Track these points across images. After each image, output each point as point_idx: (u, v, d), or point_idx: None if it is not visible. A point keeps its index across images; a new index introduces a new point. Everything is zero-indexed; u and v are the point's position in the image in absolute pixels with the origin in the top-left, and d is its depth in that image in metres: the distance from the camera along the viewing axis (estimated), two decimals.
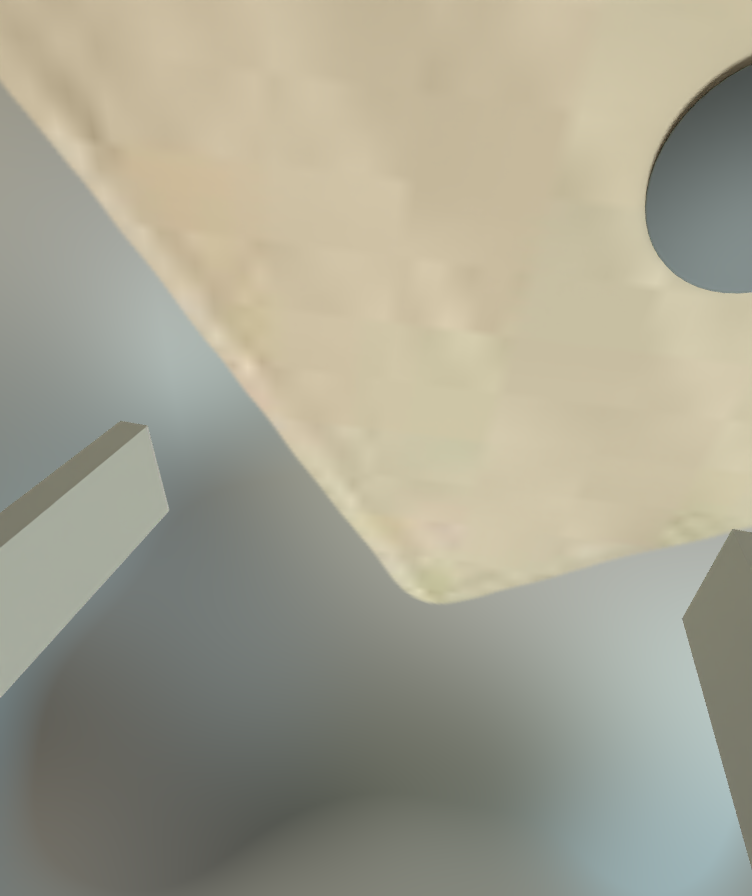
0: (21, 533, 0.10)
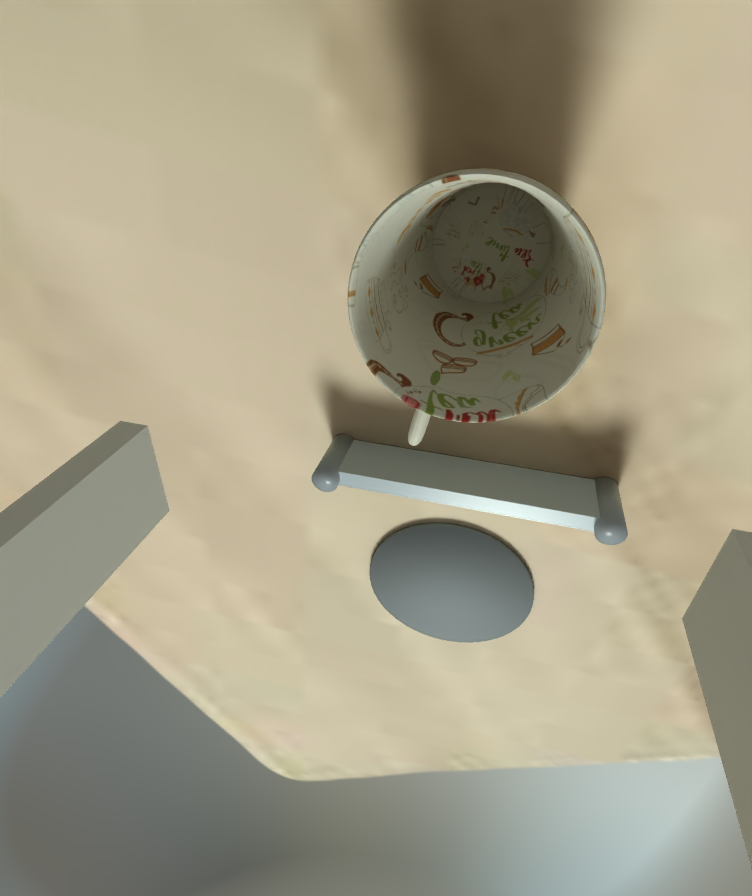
0: (21, 533, 0.10)
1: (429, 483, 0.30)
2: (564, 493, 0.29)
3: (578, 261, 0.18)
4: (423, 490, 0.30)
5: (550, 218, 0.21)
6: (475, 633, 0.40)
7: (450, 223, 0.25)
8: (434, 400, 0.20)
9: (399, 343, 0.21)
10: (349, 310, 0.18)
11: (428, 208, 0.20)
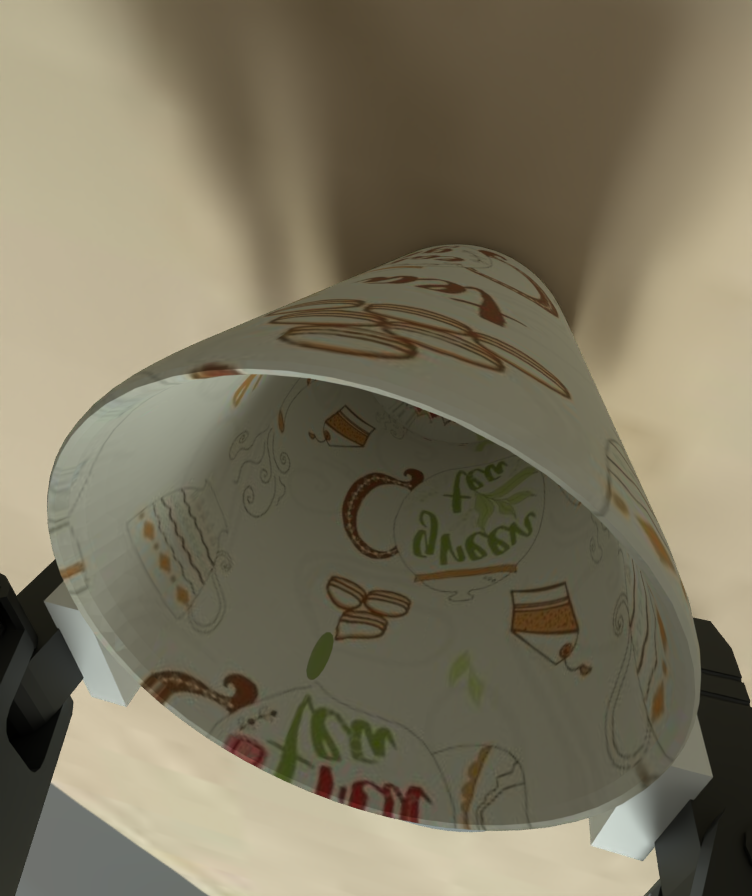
0: None
1: None
2: None
3: None
4: None
5: None
6: None
7: None
8: (302, 734, 0.10)
9: (248, 590, 0.11)
10: (74, 600, 0.08)
11: None
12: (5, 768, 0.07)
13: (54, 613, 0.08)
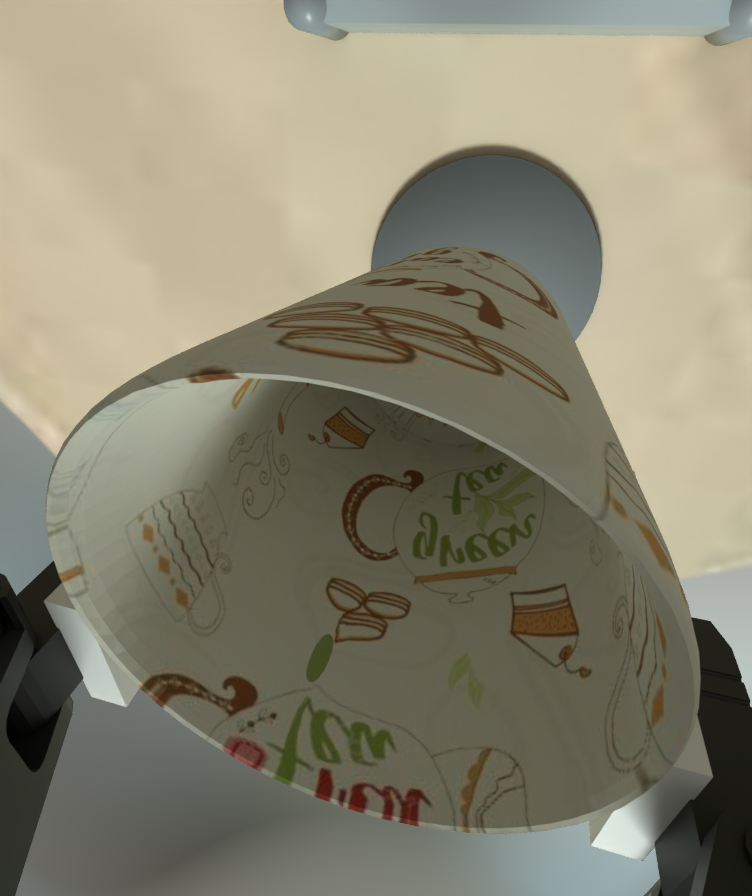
0: None
1: None
2: None
3: None
4: None
5: None
6: None
7: None
8: (301, 737, 0.10)
9: (248, 592, 0.10)
10: (74, 603, 0.08)
11: None
12: (5, 768, 0.07)
13: (54, 613, 0.08)
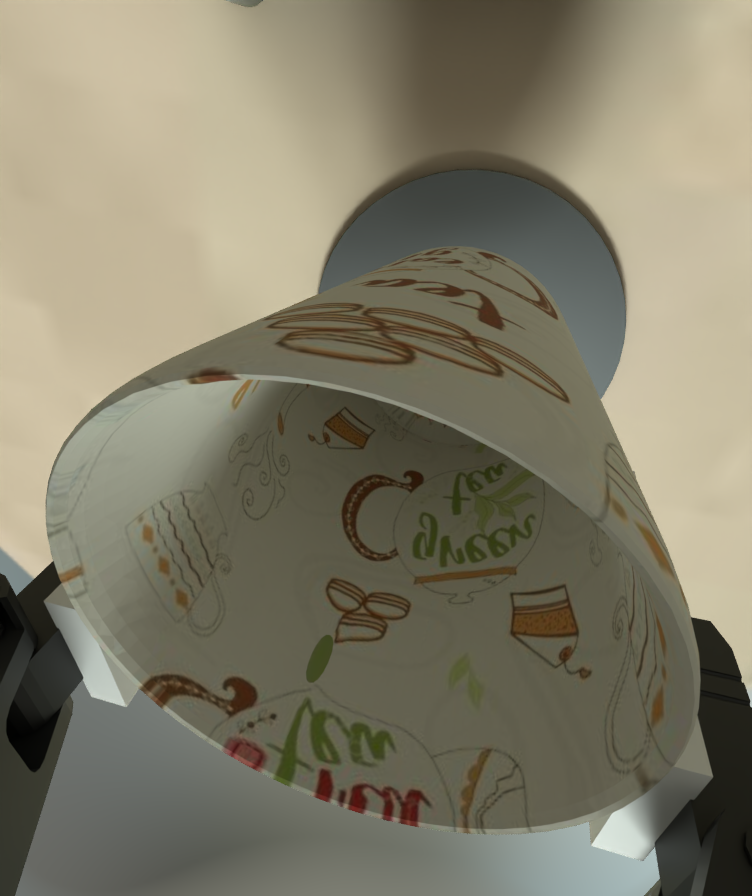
0: None
1: None
2: None
3: None
4: None
5: None
6: None
7: None
8: (301, 737, 0.10)
9: (248, 593, 0.10)
10: (73, 603, 0.08)
11: None
12: (5, 768, 0.07)
13: (54, 613, 0.08)
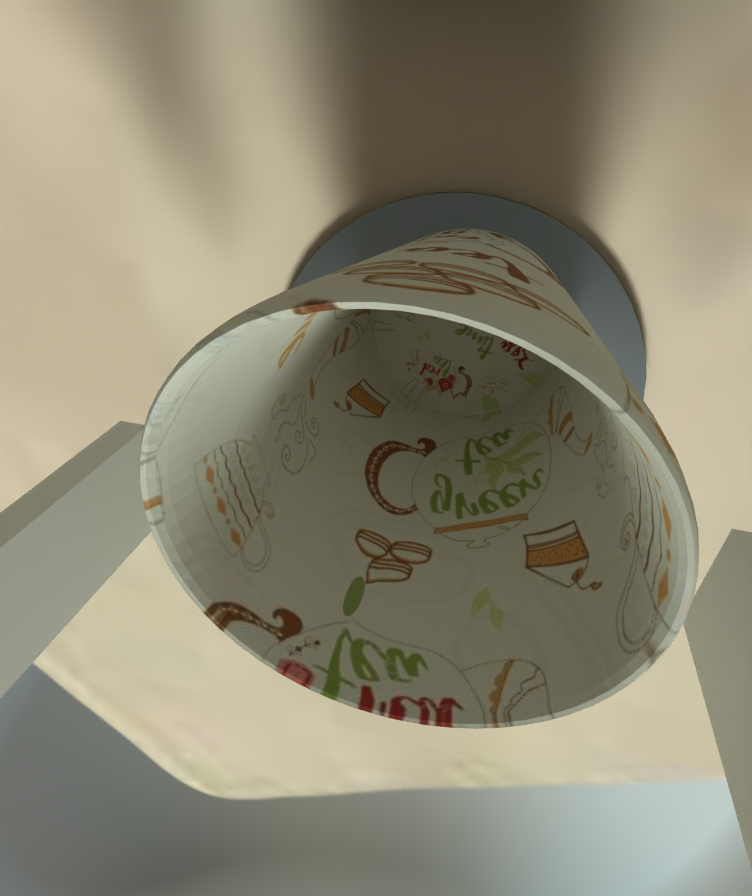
0: (21, 533, 0.10)
1: None
2: None
3: (620, 440, 0.09)
4: None
5: None
6: None
7: None
8: (343, 660, 0.11)
9: (289, 537, 0.12)
10: (152, 530, 0.09)
11: None
12: None
13: None
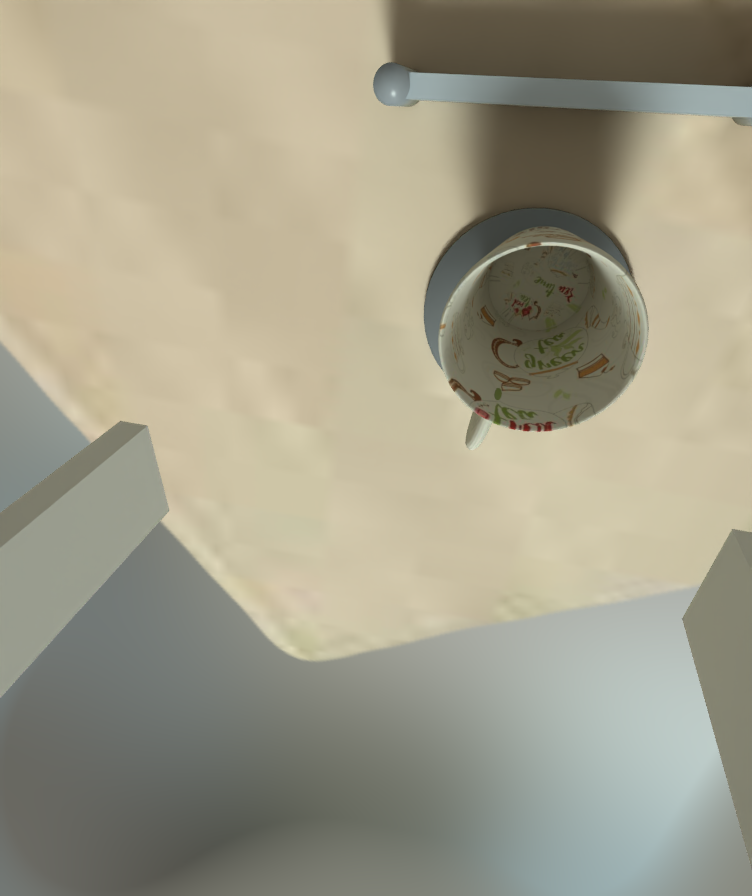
0: (21, 533, 0.10)
1: None
2: None
3: (623, 306, 0.22)
4: (522, 83, 0.23)
5: (594, 265, 0.26)
6: None
7: (505, 263, 0.29)
8: (499, 412, 0.24)
9: (469, 365, 0.25)
10: (440, 339, 0.22)
11: None
12: None
13: None
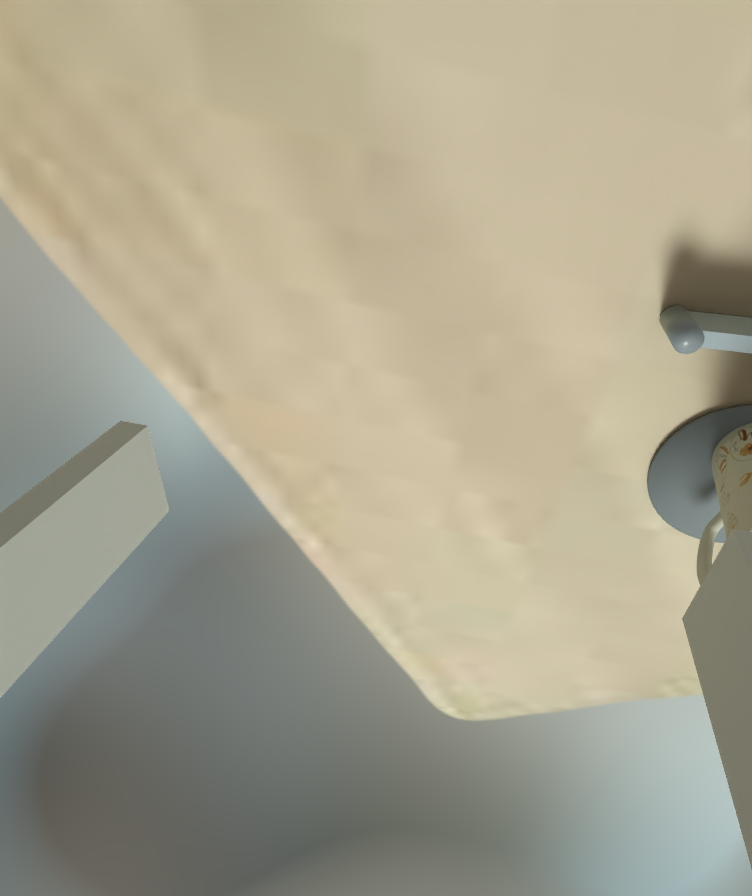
0: (21, 533, 0.10)
1: None
2: None
3: None
4: None
5: None
6: None
7: None
8: None
9: None
10: None
11: None
12: None
13: None
